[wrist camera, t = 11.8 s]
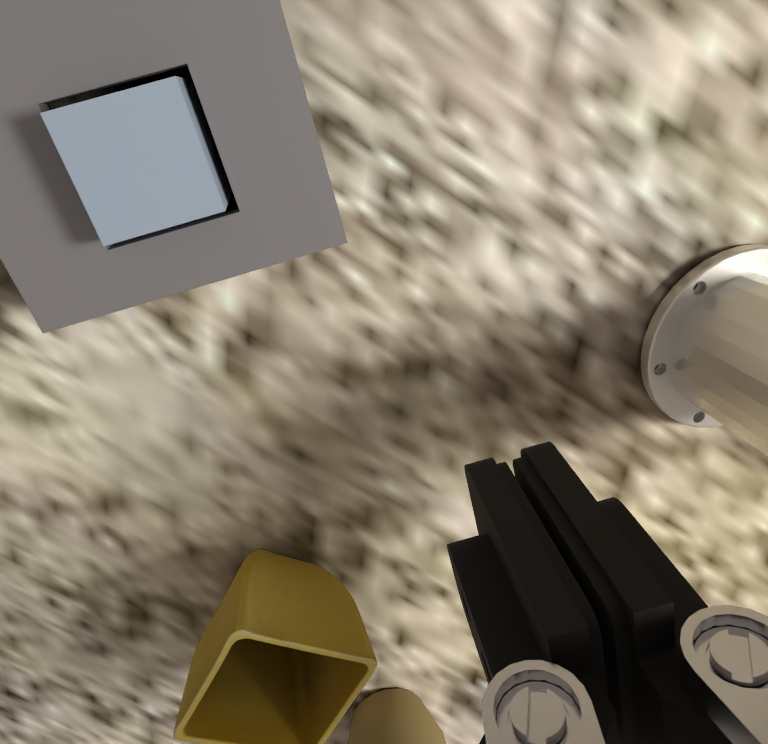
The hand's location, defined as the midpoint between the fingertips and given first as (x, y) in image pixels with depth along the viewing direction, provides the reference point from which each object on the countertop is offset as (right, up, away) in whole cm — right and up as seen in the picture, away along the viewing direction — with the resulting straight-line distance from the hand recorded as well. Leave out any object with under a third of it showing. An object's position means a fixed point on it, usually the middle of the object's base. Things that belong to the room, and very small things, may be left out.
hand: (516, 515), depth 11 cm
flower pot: (-10, -12, +29) cm, 33 cm away
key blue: (-13, +13, +15) cm, 24 cm away
